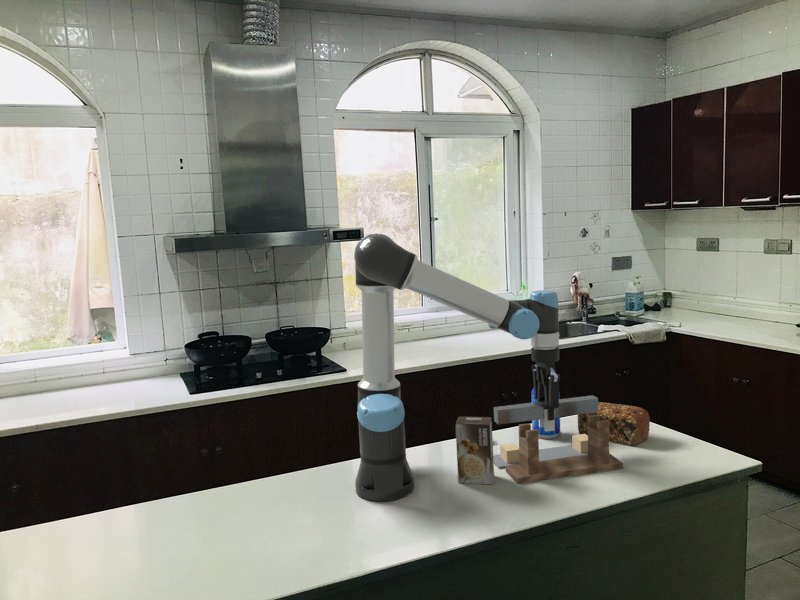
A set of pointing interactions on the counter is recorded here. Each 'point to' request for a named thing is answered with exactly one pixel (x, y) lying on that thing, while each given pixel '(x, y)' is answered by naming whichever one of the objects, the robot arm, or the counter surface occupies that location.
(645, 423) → the bread
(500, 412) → the steel rail
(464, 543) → the counter surface
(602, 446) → the walnut rack
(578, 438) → the slate mat with oak rests
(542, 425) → the robot arm
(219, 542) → the counter surface
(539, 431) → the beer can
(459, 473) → the coffee box
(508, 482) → the counter surface
